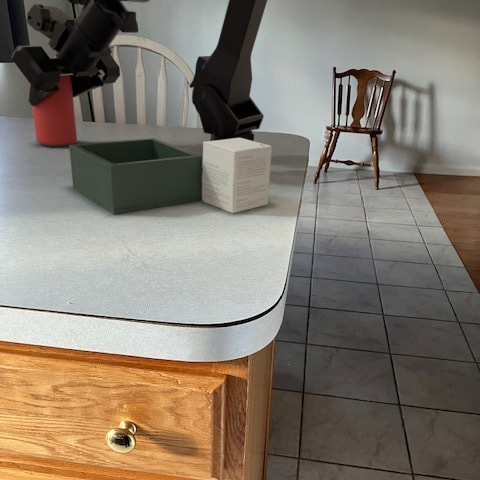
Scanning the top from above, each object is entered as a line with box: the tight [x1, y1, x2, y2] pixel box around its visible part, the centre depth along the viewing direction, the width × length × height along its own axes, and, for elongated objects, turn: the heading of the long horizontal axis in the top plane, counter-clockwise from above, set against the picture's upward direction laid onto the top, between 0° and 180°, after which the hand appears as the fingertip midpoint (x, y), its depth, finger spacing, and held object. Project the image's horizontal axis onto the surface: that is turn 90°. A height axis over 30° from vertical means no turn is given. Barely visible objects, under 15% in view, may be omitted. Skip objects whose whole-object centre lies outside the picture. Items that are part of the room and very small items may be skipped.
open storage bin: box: [68, 137, 203, 215], centre depth 68 cm, size 12×12×6 cm
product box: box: [201, 138, 273, 214], centre depth 66 cm, size 6×6×7 cm
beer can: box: [28, 75, 78, 148], centre depth 90 cm, size 7×7×12 cm
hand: (46, 101), depth 90 cm, fingers closed on beer can, 6 cm apart
